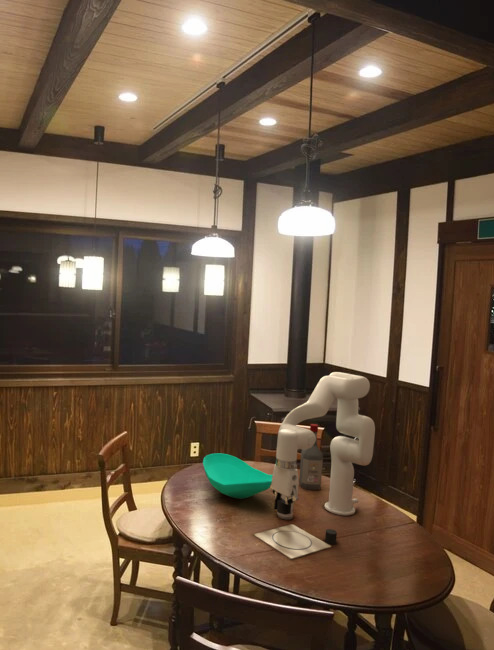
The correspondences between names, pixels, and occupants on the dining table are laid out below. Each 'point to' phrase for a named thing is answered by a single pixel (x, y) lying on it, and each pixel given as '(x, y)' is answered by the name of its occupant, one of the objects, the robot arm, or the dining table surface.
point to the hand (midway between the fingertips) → (282, 510)
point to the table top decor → (235, 476)
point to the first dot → (280, 505)
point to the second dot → (330, 536)
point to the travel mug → (287, 516)
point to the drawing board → (292, 541)
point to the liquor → (311, 465)
